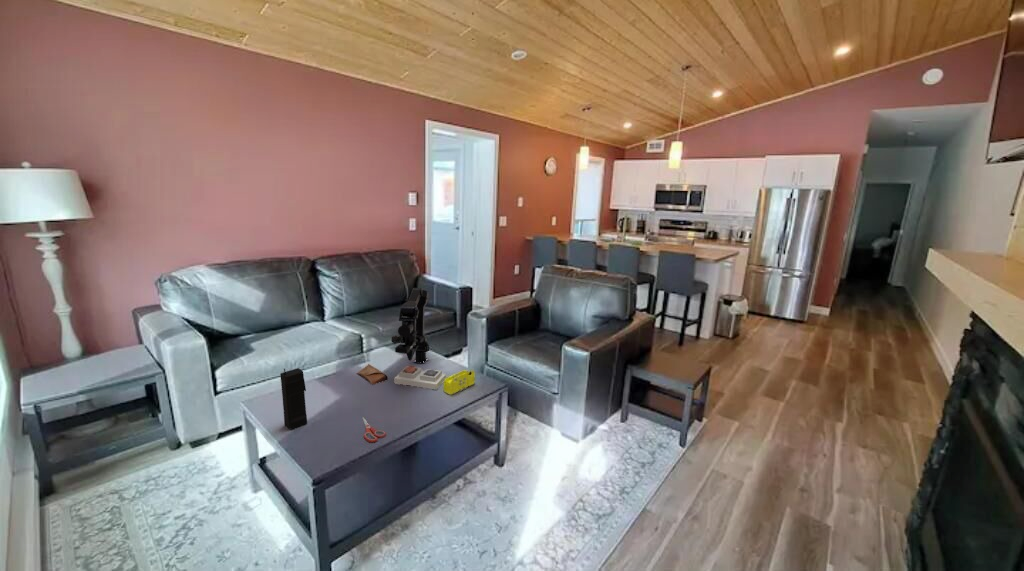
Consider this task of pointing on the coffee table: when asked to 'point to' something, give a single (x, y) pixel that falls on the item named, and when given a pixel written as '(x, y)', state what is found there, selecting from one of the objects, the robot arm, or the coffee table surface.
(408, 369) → the pink rounded ball
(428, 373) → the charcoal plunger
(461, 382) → the yellow toy chassis
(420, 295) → the robot arm
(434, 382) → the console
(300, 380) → the portable radio
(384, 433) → the scissors
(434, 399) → the coffee table surface
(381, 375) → the sunglasses case
